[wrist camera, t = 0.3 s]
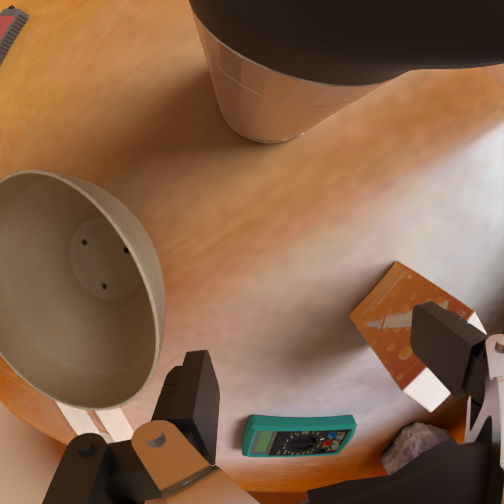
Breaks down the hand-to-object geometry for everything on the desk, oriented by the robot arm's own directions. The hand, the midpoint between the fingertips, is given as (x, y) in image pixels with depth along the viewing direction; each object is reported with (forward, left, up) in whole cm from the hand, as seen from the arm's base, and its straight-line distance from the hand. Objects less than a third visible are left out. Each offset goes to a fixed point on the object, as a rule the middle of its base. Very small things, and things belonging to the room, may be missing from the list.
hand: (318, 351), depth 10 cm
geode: (+41, +26, -18) cm, 52 cm away
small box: (+8, +12, -18) cm, 23 cm away
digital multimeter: (+27, +1, -18) cm, 33 cm away
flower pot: (-1, -17, -18) cm, 24 cm away
